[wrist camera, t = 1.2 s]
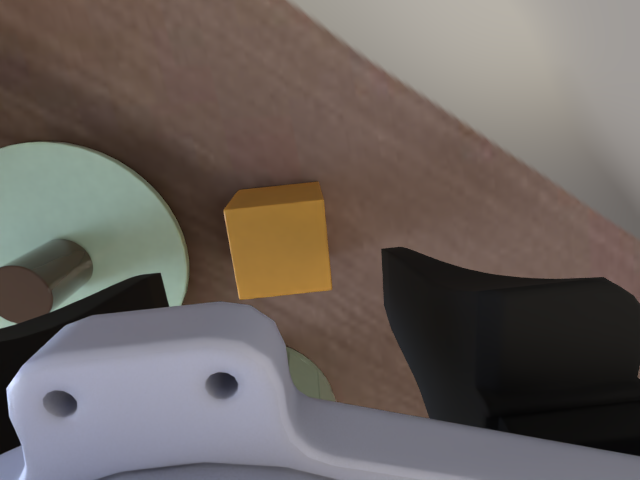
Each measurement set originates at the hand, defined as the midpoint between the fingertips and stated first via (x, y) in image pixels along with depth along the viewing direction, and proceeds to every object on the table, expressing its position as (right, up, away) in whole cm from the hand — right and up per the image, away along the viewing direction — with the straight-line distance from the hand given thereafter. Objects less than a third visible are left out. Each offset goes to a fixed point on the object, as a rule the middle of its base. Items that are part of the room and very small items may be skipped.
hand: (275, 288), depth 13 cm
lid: (-11, +1, +7) cm, 13 cm away
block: (0, +2, +7) cm, 8 cm away
